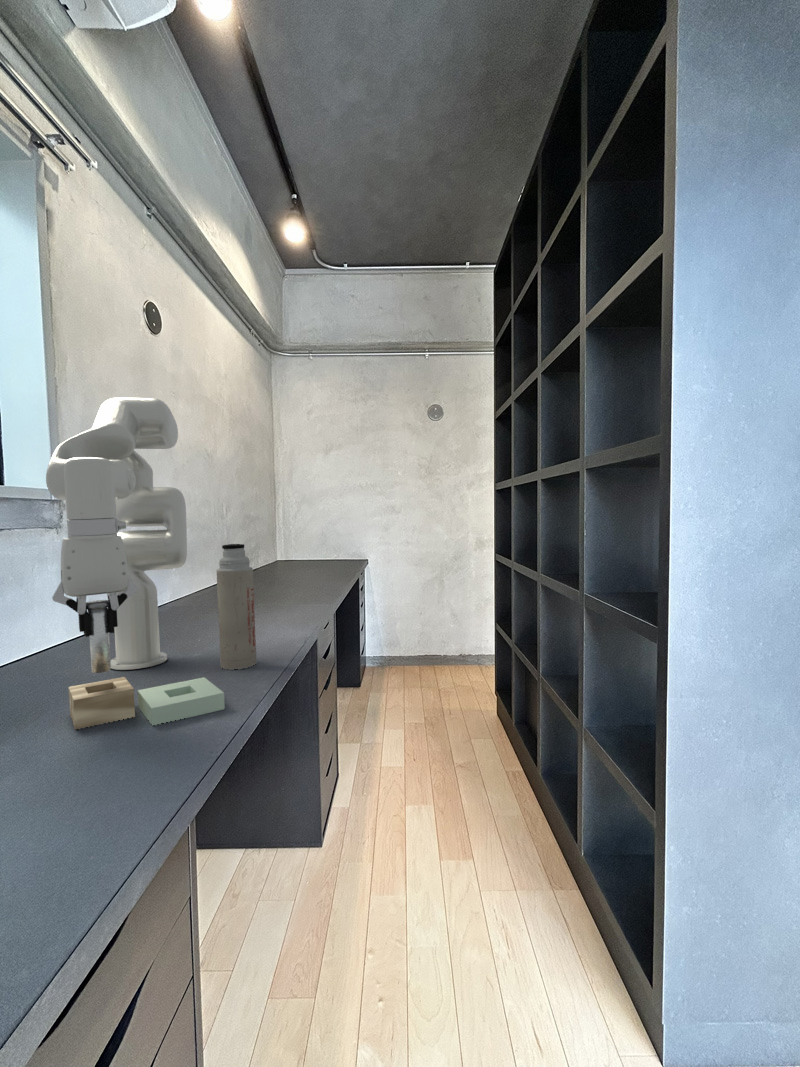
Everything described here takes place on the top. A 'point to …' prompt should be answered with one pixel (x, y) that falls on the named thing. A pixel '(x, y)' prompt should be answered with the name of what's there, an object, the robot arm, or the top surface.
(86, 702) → the frame
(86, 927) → the top surface
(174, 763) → the top surface
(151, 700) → the dock
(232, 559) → the thermos bottle
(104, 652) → the pin
